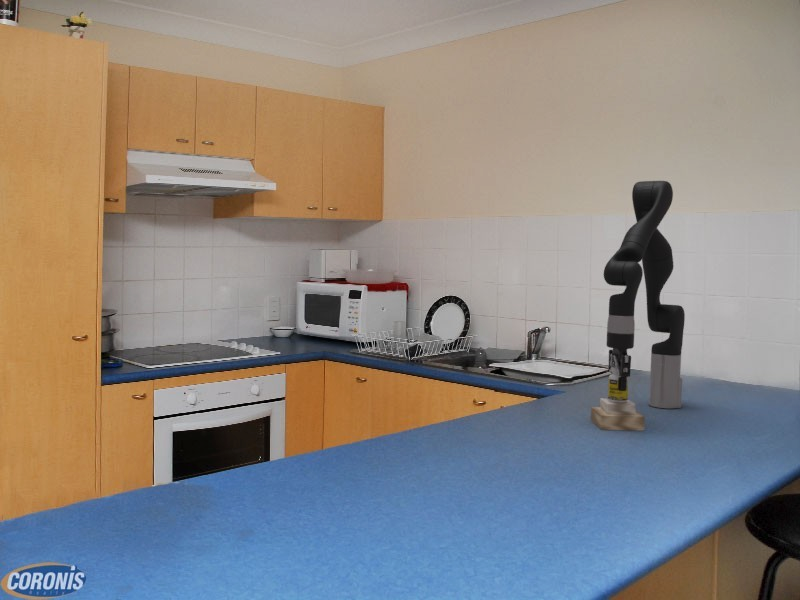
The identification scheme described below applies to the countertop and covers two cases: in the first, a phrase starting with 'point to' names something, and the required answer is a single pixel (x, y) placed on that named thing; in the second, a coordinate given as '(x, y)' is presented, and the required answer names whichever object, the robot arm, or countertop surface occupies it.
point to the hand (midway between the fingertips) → (618, 388)
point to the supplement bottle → (616, 389)
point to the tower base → (617, 416)
